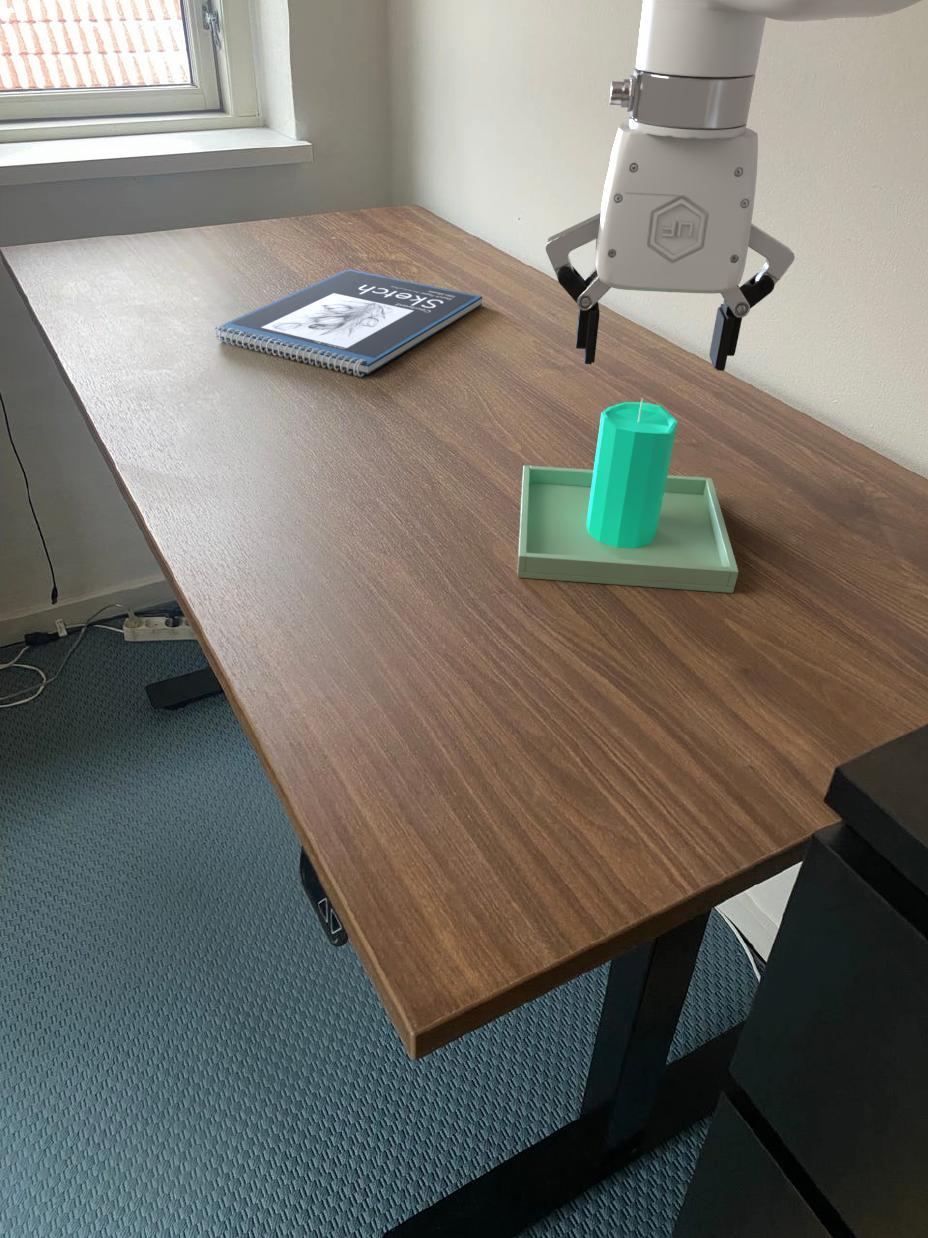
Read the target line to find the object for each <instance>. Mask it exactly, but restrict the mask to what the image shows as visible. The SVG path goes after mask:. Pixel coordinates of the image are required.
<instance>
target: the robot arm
mask: <svg viewBox="0 0 928 1238" xmlns="http://www.w3.org/2000/svg"><path fill="white" fill-rule="evenodd" d="M922 1H923V0H642V7H641V17H640V23H639V24H640V26H639V33H638V43H637V53H636V61H635V68H634V69H633V75H630V74H629V78H624V79H623V80H622V81H620V80H619V81H617V80H612V81H611V83H610V90H609V105H610V106H612V105H613V106H620V108H625V110H626V112H628V113H629V120H628V121H625V122H622V123H620V124H619V126H618V129H617V132H616V136H615V139H614V142H613V146H612V149H611V154H610V160H609V164H608V168H607V172H606V177H605V181H604V186H603V192H602V199H601V205H600V210H599V213H597V214H595V215H593V216H591V217H589V218H587V219H585V220H583V221H580V222H578V223H576V224H574V225H572V226H570V227H568V228H565V229H564V230H562V231H560V232H558V233H555V234H554V235H551V236H549V238H547V239H546V241H545V252H546V254H547V257H548V260H549V262H550V265H551V266H552V269H553V271H554V273H555V275H556V278H557V282H558V283H559V285H560V286H561V287H562V288H563V289H564V290H565V291H566V293H567V294H568V295H569V296H570V297H571V298H572V300H573V301H574V302H575V303H576V306H577V307H578V312H577V313H578V314H577V324H576V333H575V334H576V335H575V349H579V350H583V361H584V362H583V364H584V365H592V364H594V363H595V362H596V361H595V359H596V353H597V352H596V351H597V343H598V342H597V341H598V334H599V323H600V315H601V314H600V307H599V306H600V305H599V301H600V300H601V299H602V298H603V297H604V295H606V293H608V292H609V290H610V289H616V290H623V291H624V290H625V291H641V292H658V293H683V294H720V295H721V297H722V298H723V303H721V304H720V306H719V307H717V310H716V315H715V320H714V322H715V323H714V326H713V332H712V336H711V337H712V338H711V343H710V348H709V359H710V361H711V364H712V367H713V369H715V370H716V371H717V372H718V371H719V372H723V371H725V369H726V365H727V359H728V357H735V355H736V351H737V346H738V341H739V337H740V330H741V326H742V320H743V318H744V317H747V315H749V313H750V312H751V309H752V308H753V307H755V306H756V305H757V304H758V303H760V302H761V301H763V299H765V298H766V297H767V296H769V295H770V294H771V293H772V292H773V291H774V289H775V286H776V284H777V283H778V281H780V280H781V279H782V277H783V276H784V275H785V274H786V272H787V271H788V269H789V268H790V267H791V265H792V264H793V263H794V261H795V258H796V257H795V253H794V252H793V251H792V249H791V248H790V247H789V246H787V245H786V244H784V243H783V242H781V241H780V240H778V239H777V238H775V237H774V236H772V235H771V234H769V233H768V232H766V231H764V230H763V229H761V228H759V227H758V226H757V225H755V224H754V223H753V222H752V221H753V214H754V206H755V205H754V204H755V197H756V186H757V176H758V159H759V138H758V137H759V135H758V133H757V132H756V131H754V130H753V129H751V128H748V127H747V123H748V119H749V114H750V106H751V102H752V98H753V97H752V96H753V90H754V86H755V85H754V84H755V80H756V74H757V68H758V64H759V58H760V53H761V46H762V41H763V36H764V29H765V25H766V20H767V19H770V20H775V21H782V22H810V21H827V20H832V19H848V18H851V19H852V18H871V17H872V18H873V17H881V16H885V15H889V14H894V13H895V12H898V11H902V10H904V9H907V8H909V7H911V6H913V5H916V4H918V3H920V2H922ZM593 241H595V267H594V268H593V269H592V270H591V271H590V273H589V274H587V275H586V277H584V278H583V276H582V275H581V274H580V273H579V272H578V270H577V269H576V268H575V266H573V264H572V262H571V259H570V256H569V254H570V253H571V252H572V251H574V250H576V249H579V248H580V247H582V246H584V245H588V243H592V242H593ZM749 248H750V250H752V251H754V252H756V253H757V254H758V255H761V256H762V257H764V258H765V263H764V264H763V265H762V268H761V269H760V270H759V272H757V273H756V274H754V275H753V276H751V277H750V278H749V279H748V280H747V281H746V282H744V283H743V284H742V285H741V286H740V284H741V282H742V279H743V276H744V272H745V267H746V262H747V257H748V251H749Z"/></svg>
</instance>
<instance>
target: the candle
mask: <svg viewBox="0 0 928 1238" xmlns="http://www.w3.org/2000/svg"><path fill="white" fill-rule="evenodd" d="M677 427H678V421H677V420H676V418H675V417H674V416H673V415H672V414H671V413H670V412H669V411H668V410H667V409H666V408H664V406H662V405H661V404H654V403H649V402H644V398H643V397H641V399H640V401H638V402H637V401H624V402H620V403H618V404H614V405H612V406H608V407H607V408H605V409H604V410H603V411H601V413H600V420H599V428H598V434H597V442H596V449H595V457H594V465H593V470H594V471H593V478H592V486H591V493H590V500H589V508H588V515H587V522H586V525H587V529H588V534H590V535H591V536H592V537H593V538H595V539H596V540H597V541H598V542H600V543H603V544H606V545H610V546H613V547H616V548H637V547H641V546H644V545H647V544H650V542H651V541H652V540H653V539H654V537H655V536H656V533H657V528H658V522H659V517H660V512H661V507H662V501H663V496H664V491H665V486H666V481H667V475H669V469H670V464H671V460H672V454H673V449H674V444H675V438H676V433H677V429H678V428H677Z"/></svg>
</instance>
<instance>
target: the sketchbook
mask: <svg viewBox="0 0 928 1238" xmlns="http://www.w3.org/2000/svg"><path fill="white" fill-rule="evenodd" d="M482 305H483V296H482V295H477V294H472V293H468V292H462V291H458V290H453V289H448V288H443V287H438V286H434V285H430V284H429V285H428V284H425V283H418V282H415V281H409V280H403V279H399V278H394V277H389V276H385V275H379V274H375V273H370V272H365V271H360V270H355V269H350V268H346V269H343V270H342V271H340V272H338V273H335V274H333V275H331V276H329V277H327V278H324V279H321V280H320V281H317V282H315V283H312V284H310V285H308V286H307V287H304V288H302V289H300V290H297V291H294V292H292V293H291V294H288V295H286V296H284V297H282V298H279V299H277V300H274V301H272V302H270V303H268V304H266V305H264V306H260V307H259V308H257V309H255V310H254V309H253V310H252V311H250V312H247V313H245V314H244V315H241V316H239V317H236V318H234V319H232V320H230V321H228V322H225V323H223V324H221V325H218V326H216V327H215V339H216V340H217V341H218V343H224V342H225V343H226V344H227V345H228V344H231V345H232V346H236V345H237V347H240V348H241V347H242V348H244V349H247V348H248V350H251V351H252V350H255V351H257V352H259V351H260V352H261V353H263V354H264V353H266V354H267V355H271V354H272V355H273V356H277V355H278V357H280V358H282V357H284V358H285V359H289V358H290V359H291V360H292V361H295V360H296V361H297V362H303V363H304V364H307V363H308V364H309V365H315V366H316V367H320V366H321V367H322V368H323V369H325V368H327V369H329V370H332V369H334V371H336V372H338V371H339V370H340V372H341V373H345V372H346V373H347V375H351V374H353V376H358V377H360V378H362V377H364V376H365V375H369V374H371V373H373V372H374V371H376V370H378V369H380V368H381V367H383V366H384V365H386V364H387V363H389V362H391V361H392V360H394V359H396V358H397V357H399V356H400V355H402V354H404V353H405V352H407V351H409V350H410V349H412V348H414V347H415V346H417V345H418V344H420V343H422V342H423V341H425V340H427V339H428V338H430V337H431V336H433V335H435V334H436V333H438V332H440V331H442V330H443V329H445V328H446V327H448V326H449V325H451V324H453V323H455V322H456V321H458V320H459V319H462V317H464V316H466V315H468V314H470V313H471V312H472V311H474V310H476V309H477V308H478V307H480V306H482Z"/></svg>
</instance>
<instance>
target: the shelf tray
mask: <svg viewBox="0 0 928 1238" xmlns="http://www.w3.org/2000/svg"><path fill="white" fill-rule="evenodd" d="M593 471H594V469H587V468H586V469H585V468H584V469H583V468H570V467H553V466H540V465H523V466H522V477H521V491H520V492H521V494H520V513H519V531H518V532H519V534H518V551H517V568H516V569H517V571H516V577H517V578H520V579H531V580H546V581H560V582H574V583H587V584H588V583H589V584H601V585H602V584H603V585H615V586H628V587H629V586H630V587H644V588H657V589H670V590H682V591H683V590H684V591H699V592H711V593H727V594H733V593H734V591H735V587H736V584H737V579H738V576H739V568H738V564H737V561H736V557H735V554H734V551H733V547H732V543H731V540H730V537H729V533H728V530H727V526H726V523H725V519H724V516H723V515H724V514H723V512H722V509H721V505H720V502H719V498H718V495H717V491H716V488H715V484H714V481H713V478H712V477H704V476H702V477H701V476H686V475H674V474H668V475H667V481H666V486H665V491H664V496H663V501H662V507H661V512H660V517H659V522H658V528H657V533H656V536H655V537H654V539H653V540H652V541H651V542H650V544H647V545H644V546H641V547H637V548H616V547H613V546H610V545H606V544H603V543H600V542H598V541H597V540H596V539H595V538H593V537H592V536H591V535H590V534H588V529H587V525H586V522H587V515H588V508H589V500H590V493H591V486H592V478H593Z"/></svg>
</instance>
